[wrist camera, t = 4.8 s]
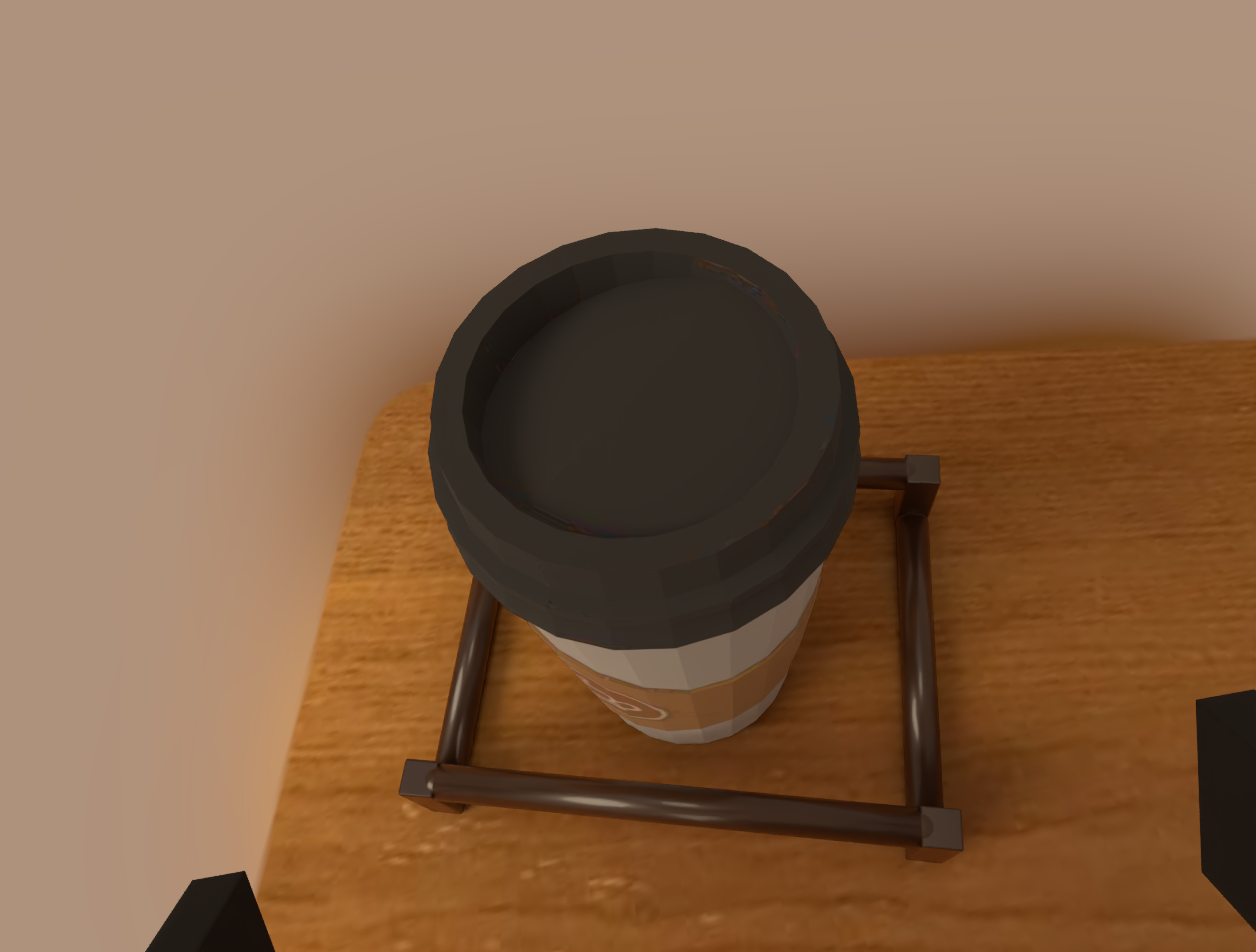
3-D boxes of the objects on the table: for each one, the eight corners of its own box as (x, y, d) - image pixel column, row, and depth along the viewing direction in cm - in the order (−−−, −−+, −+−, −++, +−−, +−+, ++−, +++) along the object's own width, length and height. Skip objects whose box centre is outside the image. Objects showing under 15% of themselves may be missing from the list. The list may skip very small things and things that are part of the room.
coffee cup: (511, 676, 29) (307, 438, 16) (664, 488, 32) (596, 153, 19) (721, 842, 26) (679, 714, 13) (873, 618, 28) (966, 322, 15)
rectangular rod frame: (431, 811, 27) (395, 794, 25) (498, 483, 33) (474, 440, 30) (943, 863, 25) (964, 850, 22) (924, 499, 30) (939, 453, 27)
